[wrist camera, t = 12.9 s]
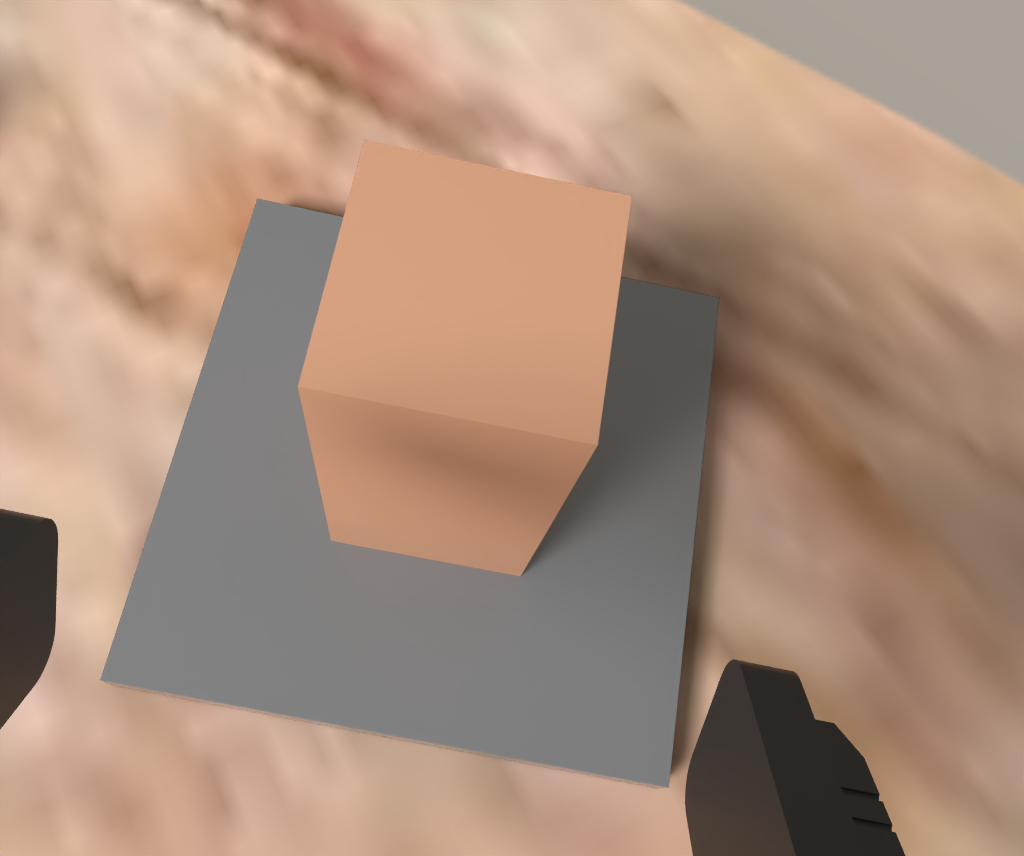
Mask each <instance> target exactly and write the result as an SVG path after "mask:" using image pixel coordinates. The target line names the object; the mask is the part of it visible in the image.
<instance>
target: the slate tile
mask: <svg viewBox="0 0 1024 856" xmlns="http://www.w3.org/2000/svg"><path fill="white" fill-rule="evenodd" d="M342 221H343V217H341V216H336V215H332V214H327V213H322V212H318V211H313V210H308V209H304V208H299V207H294V206H290V205H285V204H280V203H276V202H271V201H266V200H262V199H257V201H256V204H255V207H254V210H253V214H252V217H251V220H250V223H249V226H248V229H247V232H246V235H245V238H244V241H243V244H242V247H241V250H240V253H239V256H238V260H237V263H236V266H235V269H234V272H233V275H232V278H231V281H230V284H229V287H228V290H227V293H226V296H225V299H224V302H223V305H222V309H221V312H220V315H219V318H218V321H217V324H216V327H215V330H214V333H213V336H212V339H211V342H210V345H209V348H208V351H207V355H206V358H205V361H204V364H203V367H202V370H201V373H200V376H199V379H198V382H197V385H196V388H195V391H194V394H193V397H192V401H191V404H190V407H189V410H188V413H187V416H186V419H185V422H184V425H183V428H182V431H181V434H180V437H179V440H178V443H177V446H176V450H175V453H174V456H173V459H172V462H171V465H170V468H169V471H168V474H167V477H166V480H165V483H164V486H163V489H162V492H161V496H160V499H159V502H158V505H157V508H156V511H155V514H154V517H153V520H152V523H151V526H150V529H149V532H148V535H147V538H146V542H145V545H144V548H143V551H142V554H141V557H140V560H139V563H138V566H137V569H136V572H135V575H134V578H133V581H132V584H131V587H130V591H129V594H128V597H127V600H126V603H125V606H124V609H123V612H122V615H121V618H120V621H119V624H118V627H117V630H116V633H115V637H114V640H113V643H112V646H111V649H110V652H109V655H108V658H107V661H106V664H105V667H104V670H103V673H102V676H101V679H100V680H101V681H103V682H106V683H108V684H110V685H113V686H117V687H123V688H128V689H133V690H138V691H144V692H149V693H154V694H160V695H165V696H170V697H175V698H181V699H186V700H191V701H197V702H202V703H207V704H212V705H218V706H223V707H228V708H234V709H239V710H244V711H250V712H255V713H260V714H265V715H271V716H276V717H281V718H287V719H292V720H297V721H302V722H308V723H313V724H318V725H324V726H329V727H334V728H339V729H345V730H350V731H355V732H361V733H366V734H371V735H376V736H382V737H387V738H392V739H398V740H403V741H408V742H414V743H419V744H424V745H429V746H435V747H440V748H445V749H451V750H456V751H461V752H466V753H472V754H477V755H482V756H488V757H493V758H498V759H503V760H509V761H514V762H519V763H525V764H530V765H535V766H541V767H546V768H551V769H556V770H562V771H567V772H572V773H578V774H583V775H588V776H593V777H599V778H604V779H609V780H615V781H620V782H625V783H630V784H636V785H641V786H646V787H652V788H669V781H670V771H671V761H672V752H673V742H674V732H675V722H676V713H677V703H678V693H679V684H680V674H681V664H682V654H683V645H684V635H685V625H686V616H687V606H688V596H689V587H690V577H691V567H692V557H693V548H694V538H695V528H696V519H697V509H698V499H699V489H700V480H701V470H702V460H703V451H704V441H705V431H706V422H707V412H708V402H709V392H710V383H711V373H712V363H713V354H714V344H715V334H716V324H717V315H718V305H719V298H718V297H713V296H708V295H704V294H699V293H695V292H690V291H685V290H681V289H676V288H671V287H667V286H662V285H657V284H653V283H648V282H643V281H639V280H634V279H629V278H625V277H621V279H620V286H619V294H618V301H617V308H616V316H615V323H614V330H613V337H612V345H611V352H610V359H609V367H608V374H607V381H606V389H605V396H604V403H603V410H602V418H601V425H600V432H599V440H598V446H597V447H596V449H595V451H594V452H593V454H592V456H591V458H590V459H589V461H588V463H587V464H586V466H585V468H584V469H583V471H582V473H581V475H580V476H579V478H578V480H577V481H576V483H575V485H574V486H573V488H572V490H571V491H570V493H569V495H568V497H567V498H566V500H565V502H564V503H563V505H562V507H561V508H560V510H559V512H558V514H557V515H556V517H555V519H554V520H553V522H552V524H551V525H550V527H549V529H548V531H547V532H546V534H545V536H544V537H543V539H542V541H541V542H540V544H539V546H538V548H537V549H536V551H535V553H534V554H533V556H532V558H531V559H530V561H529V563H528V565H527V566H526V568H525V570H524V571H523V573H522V575H521V576H516V575H510V574H505V573H500V572H494V571H489V570H484V569H478V568H473V567H468V566H462V565H457V564H452V563H446V562H441V561H436V560H430V559H425V558H420V557H415V556H409V555H404V554H399V553H393V552H388V551H383V550H377V549H372V548H367V547H361V546H356V545H351V544H345V543H340V542H335V541H331V539H330V534H329V529H328V525H327V520H326V515H325V511H324V506H323V501H322V497H321V492H320V488H319V483H318V478H317V474H316V469H315V464H314V460H313V455H312V450H311V446H310V441H309V436H308V432H307V427H306V422H305V418H304V413H303V409H302V404H301V399H300V395H299V390H298V384H299V380H300V376H301V372H302V369H303V365H304V361H305V358H306V354H307V350H308V347H309V343H310V339H311V335H312V332H313V328H314V324H315V321H316V317H317V313H318V310H319V306H320V302H321V298H322V295H323V291H324V287H325V284H326V280H327V276H328V272H329V269H330V265H331V261H332V258H333V254H334V250H335V247H336V243H337V239H338V235H339V232H340V228H341V224H342Z"/></svg>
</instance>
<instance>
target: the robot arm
mask: <svg viewBox="0 0 1024 856" xmlns="http://www.w3.org/2000/svg"><path fill="white" fill-rule="evenodd" d="M57 557H58V532H57V527H56V524H55V523H54V521H53V520H52V519H48V518H43V517H39V516H34V515H29V514H24V513H19V512H14V511H9V510H4V509H0V729H1V728H2V727H3V725H4V724H5V723H6V721H7V720H8V719H9V718H10V716H11V715H12V714H13V712H14V711H15V710H16V709H17V707H18V706H19V705H20V703H21V702H22V701H23V700H24V698H25V697H26V696H27V694H28V693H29V692H30V691H31V689H32V688H33V687H34V685H35V684H36V683H37V681H38V680H39V678H40V676H41V674H42V672H43V670H44V668H45V666H46V664H47V661H48V658H49V656H50V653H51V649H52V645H53V641H54V635H55V623H56V590H57ZM879 795H880V794H879V792H878V790H877V787H876V785H875V783H874V780H873V778H872V775H871V773H870V771H869V768H868V766H867V764H866V761H865V759H864V757H863V756H862V755H861V754H860V753H859V751H858V750H857V749H856V748H855V747H854V746H853V745H852V743H851V742H850V741H849V740H848V739H847V738H846V737H845V735H844V734H843V733H842V732H841V731H840V730H839V729H838V727H837V726H836V725H835V724H834V723H830V722H825V721H820V720H815V718H814V715H813V713H812V710H811V707H810V705H809V702H808V699H807V697H806V694H805V691H804V689H803V686H802V683H801V681H800V679H799V676H798V675H797V674H796V673H795V672H793V671H788V670H783V669H778V668H773V667H769V666H764V665H759V664H754V663H749V662H744V661H739V660H731V661H730V662H729V663H728V664H727V666H726V667H725V669H724V671H723V673H722V676H721V678H720V681H719V684H718V687H717V689H716V692H715V695H714V697H713V700H712V703H711V706H710V708H709V711H708V714H707V717H706V719H705V722H704V725H703V727H702V730H701V733H700V736H699V738H698V741H697V744H696V747H695V749H694V752H693V755H692V758H691V761H690V765H689V769H688V775H687V781H686V793H685V806H686V816H687V822H688V828H689V834H690V840H691V846H692V852H693V856H905V854H904V851H903V849H902V847H901V844H900V842H899V840H898V837H897V835H896V833H895V832H892V823H891V821H890V818H889V816H888V813H887V811H886V809H885V806H884V804H883V802H881V801H879Z"/></svg>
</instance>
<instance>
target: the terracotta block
mask: <svg viewBox="0 0 1024 856" xmlns="http://www.w3.org/2000/svg"><path fill="white" fill-rule="evenodd" d="M631 199H632V196H629V195H624V194H619V193H615V192H610V191H605V190H600V189H596V188H591V187H586V186H581V185H577V184H572V183H567V182H562V181H558V180H553V179H548V178H543V177H539V176H534V175H529V174H524V173H520V172H515V171H510V170H505V169H501V168H496V167H491V166H486V165H482V164H477V163H472V162H467V161H462V160H458V159H453V158H448V157H443V156H439V155H434V154H429V153H424V152H420V151H415V150H410V149H405V148H401V147H396V146H391V145H386V144H382V143H377V142H372V141H367V140H364V143H363V147H362V150H361V154H360V158H359V161H358V165H357V169H356V173H355V176H354V180H353V184H352V187H351V191H350V195H349V198H348V202H347V206H346V210H345V213H344V217H343V221H342V224H341V228H340V232H339V235H338V239H337V243H336V247H335V250H334V254H333V258H332V261H331V265H330V269H329V272H328V276H327V280H326V284H325V287H324V291H323V295H322V298H321V302H320V306H319V310H318V313H317V317H316V321H315V324H314V328H313V332H312V335H311V339H310V343H309V347H308V350H307V354H306V358H305V361H304V365H303V369H302V372H301V376H300V380H299V384H298V390H299V395H300V399H301V404H302V409H303V413H304V418H305V422H306V427H307V432H308V436H309V441H310V446H311V450H312V455H313V460H314V464H315V469H316V474H317V478H318V483H319V488H320V492H321V497H322V501H323V506H324V511H325V515H326V520H327V525H328V529H329V534H330V539H331V541H335V542H340V543H345V544H351V545H356V546H361V547H367V548H372V549H377V550H383V551H388V552H393V553H399V554H404V555H409V556H415V557H420V558H425V559H430V560H436V561H441V562H446V563H452V564H457V565H462V566H468V567H473V568H478V569H484V570H489V571H494V572H500V573H505V574H510V575H516V576H521V575H522V573H523V571H524V570H525V568H526V566H527V565H528V563H529V561H530V559H531V558H532V556H533V554H534V553H535V551H536V549H537V548H538V546H539V544H540V542H541V541H542V539H543V537H544V536H545V534H546V532H547V531H548V529H549V527H550V525H551V524H552V522H553V520H554V519H555V517H556V515H557V514H558V512H559V510H560V508H561V507H562V505H563V503H564V502H565V500H566V498H567V497H568V495H569V493H570V491H571V490H572V488H573V486H574V485H575V483H576V481H577V480H578V478H579V476H580V475H581V473H582V471H583V469H584V468H585V466H586V464H587V463H588V461H589V459H590V458H591V456H592V454H593V452H594V451H595V449H596V447H597V446H598V440H599V432H600V425H601V418H602V410H603V403H604V396H605V389H606V381H607V374H608V367H609V359H610V352H611V345H612V337H613V330H614V323H615V316H616V308H617V301H618V294H619V286H620V279H621V272H622V264H623V257H624V250H625V242H626V235H627V228H628V221H629V213H630V206H631Z"/></svg>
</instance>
